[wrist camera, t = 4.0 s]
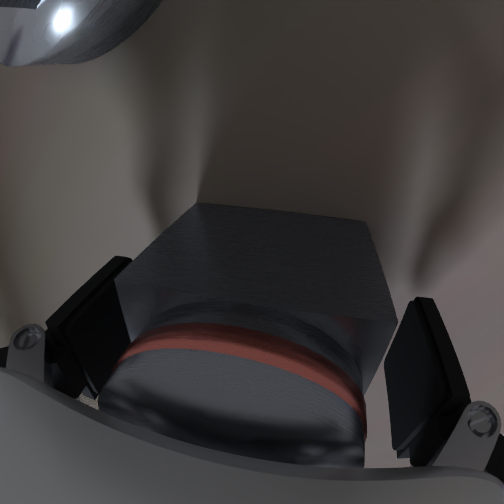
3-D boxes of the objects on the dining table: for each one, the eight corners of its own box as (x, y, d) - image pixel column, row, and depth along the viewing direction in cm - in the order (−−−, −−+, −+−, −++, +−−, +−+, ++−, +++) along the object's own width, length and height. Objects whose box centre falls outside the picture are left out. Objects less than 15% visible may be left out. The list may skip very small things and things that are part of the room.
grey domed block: (367, 220, 9) (421, 408, 3) (335, 349, 12) (326, 505, 6) (194, 201, 10) (55, 335, 4) (202, 329, 13) (136, 465, 7)
